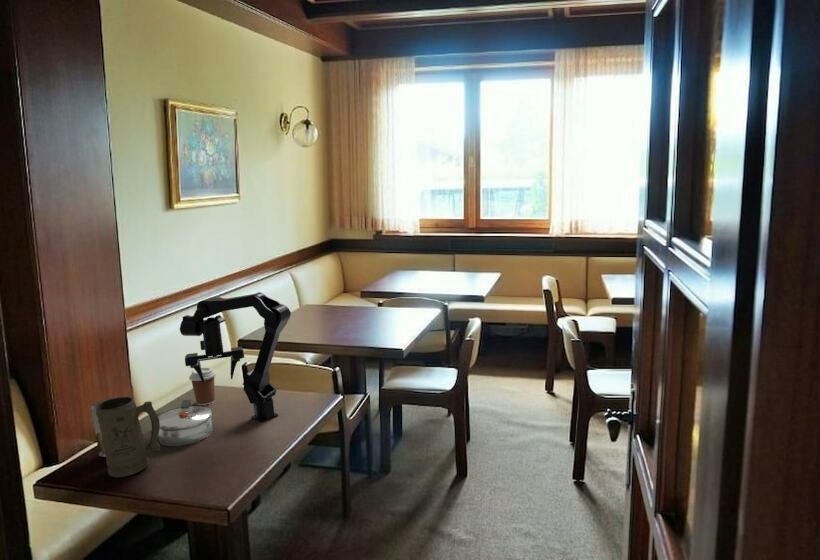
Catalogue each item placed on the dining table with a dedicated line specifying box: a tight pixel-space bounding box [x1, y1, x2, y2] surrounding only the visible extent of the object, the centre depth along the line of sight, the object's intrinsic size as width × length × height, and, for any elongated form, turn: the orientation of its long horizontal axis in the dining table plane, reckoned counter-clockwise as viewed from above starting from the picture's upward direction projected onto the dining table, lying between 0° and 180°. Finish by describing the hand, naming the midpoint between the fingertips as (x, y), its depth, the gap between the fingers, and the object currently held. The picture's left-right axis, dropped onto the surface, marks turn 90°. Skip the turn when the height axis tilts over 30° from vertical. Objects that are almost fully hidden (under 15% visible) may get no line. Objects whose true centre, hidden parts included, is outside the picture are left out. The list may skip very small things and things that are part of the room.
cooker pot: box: [157, 411, 214, 447], centre depth 203 cm, size 22×16×5 cm
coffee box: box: [90, 397, 114, 458], centre depth 189 cm, size 9×6×16 cm
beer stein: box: [96, 396, 161, 478], centre depth 179 cm, size 15×11×20 cm
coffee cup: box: [188, 367, 217, 406], centre depth 230 cm, size 9×9×12 cm
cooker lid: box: [159, 399, 213, 430], centre depth 204 cm, size 23×17×2 cm
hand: (217, 380), depth 215 cm, fingers open, 9 cm apart
